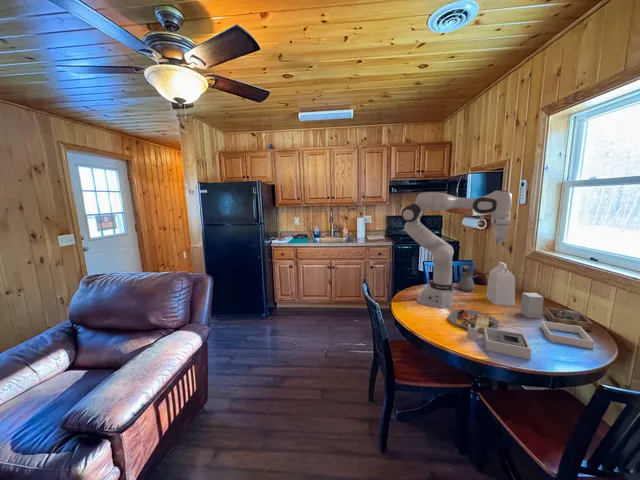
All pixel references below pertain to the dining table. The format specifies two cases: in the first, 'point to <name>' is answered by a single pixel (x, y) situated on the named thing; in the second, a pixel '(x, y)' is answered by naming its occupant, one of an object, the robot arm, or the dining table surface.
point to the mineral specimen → (569, 315)
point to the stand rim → (583, 323)
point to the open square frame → (583, 342)
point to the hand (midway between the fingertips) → (498, 244)
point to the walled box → (504, 348)
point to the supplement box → (532, 305)
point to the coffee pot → (468, 281)
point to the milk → (501, 286)
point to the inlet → (510, 339)
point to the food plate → (479, 319)
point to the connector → (472, 331)
